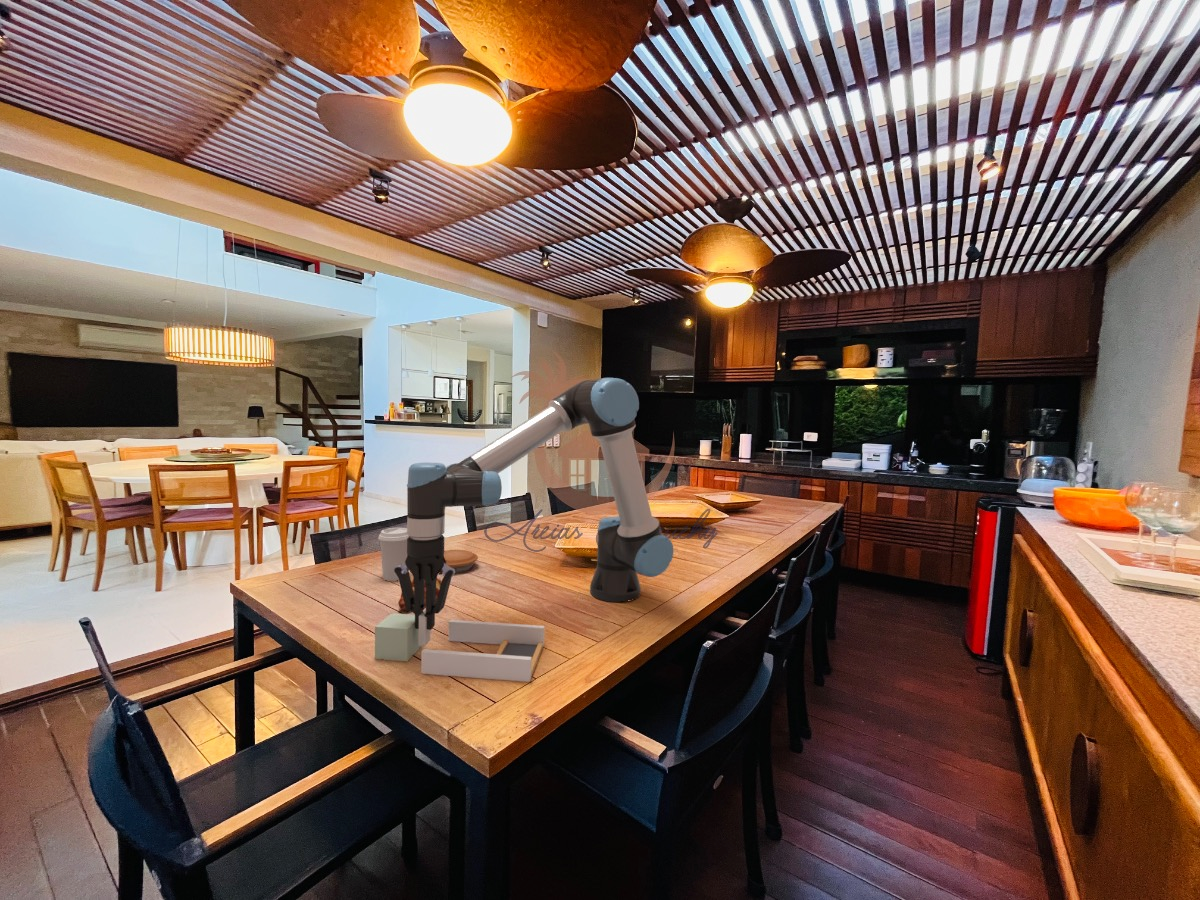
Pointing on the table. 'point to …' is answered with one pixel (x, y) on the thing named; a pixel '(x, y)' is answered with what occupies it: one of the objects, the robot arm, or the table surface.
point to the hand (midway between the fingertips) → (424, 642)
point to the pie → (460, 559)
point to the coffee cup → (393, 551)
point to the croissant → (438, 583)
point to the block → (396, 637)
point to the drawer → (522, 651)
